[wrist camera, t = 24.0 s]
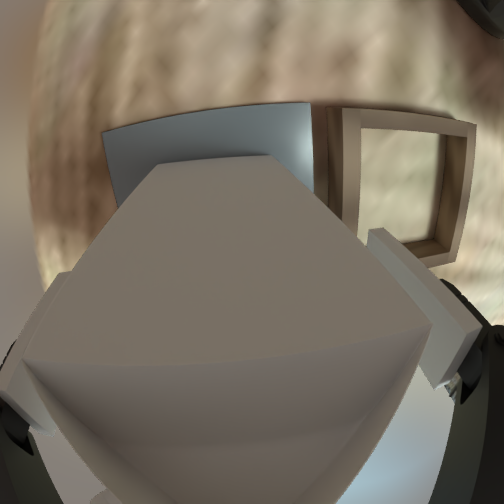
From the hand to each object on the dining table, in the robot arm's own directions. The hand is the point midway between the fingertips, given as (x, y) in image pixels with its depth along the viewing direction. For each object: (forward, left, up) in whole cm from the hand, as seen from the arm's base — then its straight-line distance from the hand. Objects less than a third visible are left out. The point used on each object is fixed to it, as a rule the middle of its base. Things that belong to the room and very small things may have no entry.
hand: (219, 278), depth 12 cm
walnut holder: (0, +14, -8) cm, 16 cm away
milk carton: (0, 0, -8) cm, 8 cm away
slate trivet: (0, 0, -8) cm, 8 cm away
